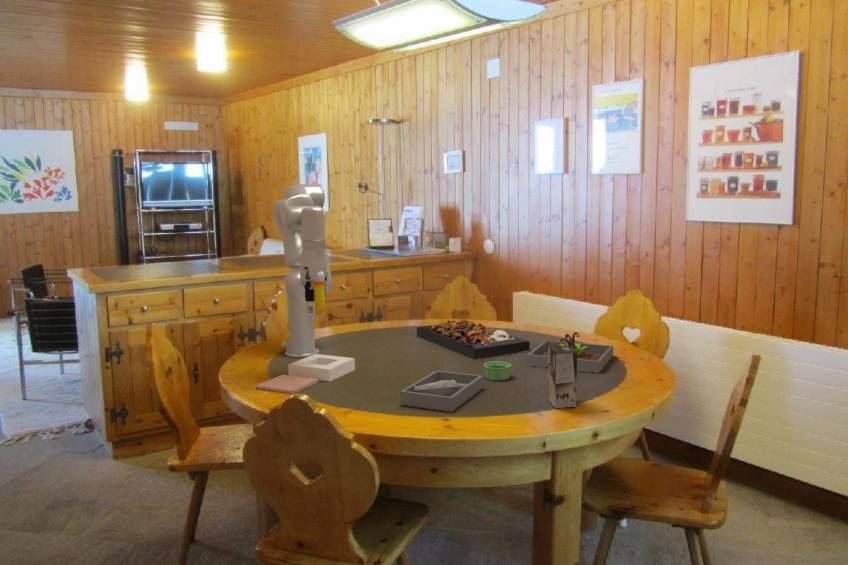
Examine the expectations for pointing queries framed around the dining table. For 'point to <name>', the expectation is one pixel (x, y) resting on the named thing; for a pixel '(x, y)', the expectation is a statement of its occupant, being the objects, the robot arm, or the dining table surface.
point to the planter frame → (582, 365)
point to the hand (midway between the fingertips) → (315, 299)
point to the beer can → (317, 297)
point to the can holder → (322, 367)
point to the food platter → (472, 339)
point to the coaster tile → (287, 384)
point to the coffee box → (562, 376)
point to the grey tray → (440, 401)
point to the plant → (577, 348)
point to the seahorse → (440, 388)
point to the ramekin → (497, 370)
